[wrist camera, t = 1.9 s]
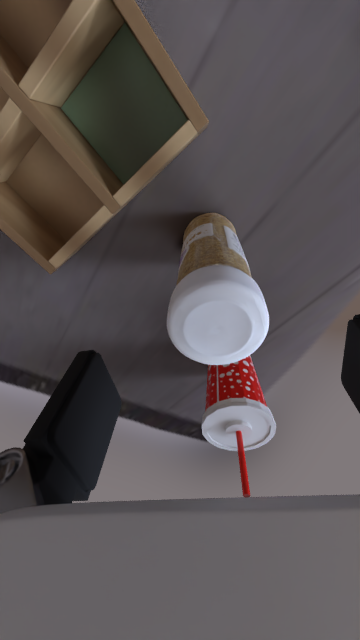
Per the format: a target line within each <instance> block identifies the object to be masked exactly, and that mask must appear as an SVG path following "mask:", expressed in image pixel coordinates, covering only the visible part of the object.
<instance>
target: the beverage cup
mask: <svg viewBox="0 0 360 640" xmlns="http://www.w3.org/2000/svg"><path fill="white" fill-rule="evenodd" d="M275 430H276V423H275V421H274V417H273V415H272V413H271V411H270V409H269V408H268V407H267V405H266V402H265V399H264V396H263V393H262V390H261V387H260V384H259V381H258V378H257V374H256V371H255V368H254V365H253V362H252V359H251V356H250V355H249V356H248V357H246V358H244V359H242V360H240V361H237V362H234V363H230V364H224V365H208V376H207V393H206V410H205V413H204V415H203V417H202V434H203V435H204V437H205V438H206V439H207V441H208V442H210V443H211V444H213V445H215V446H216V447H219V448H222V449H226V450H230V451H238V456H239V464H240V473H241V482H242V490H243V496H244V497H250V490H249V483H248V476H247V469H246V461H245V454H244V451H245V450H250V449H255V448H258V447H260V446H262V445H264V444H266V443H268V442H269V441H270V439H271V438H272V437H273V436H274V435H275Z"/></svg>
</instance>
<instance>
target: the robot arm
mask: <svg viewBox="0 0 360 640" xmlns="http://www.w3.org/2000/svg"><path fill="white" fill-rule="evenodd" d="M341 381H342V384H343V386H344V388H345V390H346V391H347V393H348V395H349V396H350V398H351V400H352V401H353V403H354V405H355V406H356V408H357V410H358V411H359V413H360V314H359V315H355V316H354V318H353V320H349V322H348V326H347V334H346V342H345V350H344V357H343V365H342V373H341ZM120 408H121V398H120V396H119V394H118V391H117V389H116V387H115V385H114V383H113V381H112V379H111V376H110V374H109V372H108V370H107V368H106V366H105V364H104V361H103V359H102V357H101V355H100V354H99V353H96V352H95V351H94V350H89V351H81V352H79V353H78V354H77V355H76V357H75V358H74V360H73V362H72V363H71V365H70V367H69V368H68V370H67V371H66V373H65V375H64V376H63V378H62V380H61V381H60V383H59V384H58V386H57V388H56V389H55V391H54V392H53V394H52V396H51V397H50V399H49V401H48V402H47V404H46V406H45V407H44V409H43V410H42V412H41V414H40V415H39V417H38V419H37V420H36V422H35V423H34V425H33V426H32V428H31V430H30V431H29V433H28V435H27V436H26V438H25V439H24V442H25V443H26V444H25V446H24V448H23V449H21V448H11V449H7V450H5V451H3V452H1V453H0V640H360V495H321V496H277V497H241V498H207V499H176V500H144V501H115V502H90V503H72V501H85V500H88V498H89V495H90V491H91V490H93V489H94V488H95V486H96V484H97V480H98V477H99V474H100V471H101V468H102V465H103V461H104V458H105V455H106V452H107V449H108V446H109V443H110V440H111V436H112V433H113V430H114V427H115V424H116V421H117V418H118V415H119V411H120Z"/></svg>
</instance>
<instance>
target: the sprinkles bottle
mask: <svg viewBox="0 0 360 640" xmlns="http://www.w3.org/2000/svg"><path fill="white" fill-rule="evenodd" d="M268 328H269V313H268V310H267V306H266V303H265V300H264V297H263V295H262V292H261V290H260V288H259V286H258V285H257V283H256V282H255V281H254V280H253V279H252V277H251V274H250V269H249V266H248V263H247V260H246V258H245V255H244V253H243V250H242V247H241V245H240V243H239V240H238V238H237V236H236V231H235V229H234V226H233V225H232V223H231V222H230V221H229V220H228V219H227V218H226V217H224V216H222V215H220V214H217V213H206V214H203V215H200V216H198V217H196V218H195V219H193V220H192V221H191V222H190V223H189V225H188V226H187V228H186V230H185V232H184V237H183V247H182V252H181V259H180V265H179V270H178V280H177V286H176V287H175V289H174V291H173V293H172V295H171V299H170V303H169V308H168V314H167V330H168V334H169V337H170V339H171V341H172V343H173V344H174V346H175V347H176V348H177V349H178V350H179V351H180V352H181V353H182V354H184V355H185V356H186V357H188V358H190V359H192V360H194V361H197V362H199V363H203V364H208V365H224V364H230V363H234V362H237V361H240V360H242V359H244V358H246V357H248V356H249V355H250V354H252V353H253V352H254V351H255V350H257V349H258V347H259V346H260V345H261V344H262V342H263V341H264V339H265V337H266V334H267V332H268Z"/></svg>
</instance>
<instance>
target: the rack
mask: <svg viewBox="0 0 360 640" xmlns="http://www.w3.org/2000/svg"><path fill="white" fill-rule="evenodd" d="M208 122H209V121H208V119H207V117H206V116H205V114H204V112H203V111H202V109H201V108H200V106H199V104H198V103H197V101H196V99H195V98H194V96H193V95H192V93H191V91H190V90H189V88H188V86H187V85H186V83H185V82H184V80H183V78H182V77H181V75H180V73H179V72H178V70H177V69H176V67H175V65H174V64H173V62H172V60H171V59H170V57H169V56H168V54H167V52H166V51H165V49H164V47H163V46H162V44H161V42H160V41H159V39H158V38H157V36H156V34H155V33H154V31H153V29H152V28H151V26H150V25H149V23H148V21H147V20H146V18H145V16H144V15H143V13H142V12H141V10H140V8H139V7H138V5H137V3H136V2H135V0H0V229H1V230H2V231H3V232H4V233H5V234H6V235H7V236H8V237H9V238H11V239H12V240H13V241H14V242H15V243H16V244H17V245H18V246H19V247H20V248H22V249H23V250H24V251H25V252H26V253H27V254H28V255H29V256H30V257H32V258H33V259H34V260H35V261H36V262H37V263H38V264H39V265H40V266H41V267H43V268H44V269H45V270H46V271H47V272H48V273H49V274H52V273H53V272H55V271H56V270H57V269H58V268H59V267H60V266H62V265H63V264H64V263H65V262H66V261H68V260H69V259H70V258H71V257H72V256H73V255H75V254H76V253H77V252H78V251H79V250H80V249H81V248H82V247H83V246H84V245H85V244H86V243H87V242H88V241H89V240H90V239H91V238H92V237H93V236H94V235H95V234H96V233H97V232H99V231H100V230H101V229H102V228H103V227H104V226H105V225H106V224H107V223H108V222H109V221H110V220H111V219H112V218H113V217H114V216H115V215H116V214H117V213H118V212H119V211H120V210H121V209H122V208H124V207H125V206H126V205H127V204H128V203H129V202H130V201H131V200H132V199H133V198H134V197H135V196H136V195H137V194H138V193H139V192H140V191H141V190H142V189H143V188H144V187H145V186H146V185H147V184H149V183H150V182H151V181H152V180H153V179H154V178H155V177H156V176H157V175H158V174H159V173H160V172H161V171H162V170H163V169H164V168H165V167H166V166H167V165H168V164H169V163H170V162H171V161H173V160H174V159H175V158H176V157H177V156H178V155H179V154H180V153H181V152H182V151H183V150H184V149H185V148H186V147H187V146H188V145H189V144H190V143H191V142H192V141H193V140H194V139H195V138H196V137H198V136H199V135H200V134H201V133H202V132H203V131H204V130H205V129H206V128H207V126H208Z"/></svg>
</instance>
